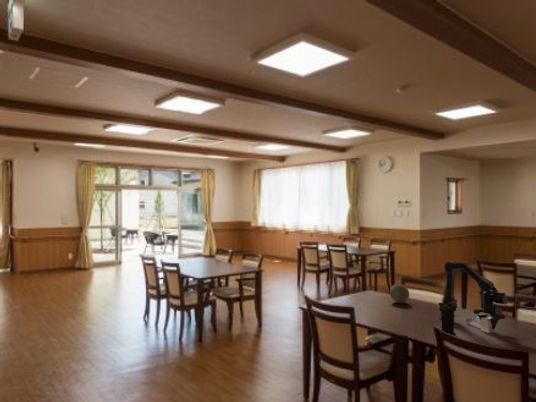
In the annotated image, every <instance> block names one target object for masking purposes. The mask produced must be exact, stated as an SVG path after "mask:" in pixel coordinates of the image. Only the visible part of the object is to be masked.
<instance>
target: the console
mask: <svg viewBox="0 0 536 402" xmlns="http://www.w3.org/2000/svg"><path fill="white" fill-rule="evenodd" d="M475 321H476V322H475V323H477V324H480V325H481V320H480V318H479V317H478V316H476V317H475Z"/></svg>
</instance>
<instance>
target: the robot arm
mask: <svg viewBox="0 0 536 402" xmlns="http://www.w3.org/2000/svg"><path fill="white" fill-rule="evenodd" d="M458 269H461V270H462V271H463V272H465V273H466V274H467V275H468V276H469V277H470V278H472V279H473V280H474V281H475V282H476V283H477V286H478V287H479V288H480V290H481V291H479V292H478V294H479V295H482V303H481V306H482V307H483V308H480V307H479V308H478V307H477V308H474V309H473V314H475V315H476V317H479V318H480V320H481V318H483V317H488V316H489V317H491V318H490V320H491V324H492V328H493V329H495V327H496V328H497V325H498V321H500V320H506V315H505V314H504V313H502V311H503V309H502V308H500V307H499V306H497V305H496V304H499V305H507V304H508V301H509V299H508V296H507V294H506V292H500V291H498V289H497V288H496V286H495V284H494V282H493V281H491V280H490V279H487V278H486V277H483V276H482V275H481V274H479V272H477V271H476V270H475V269H474V268H473V267H472V266H470V264H469V263H467V262H466V261H464V262H456V261H453V260H452V261H447V262H446V263H444V271H445V272H444V273H446V285H445V296H444V299H443V300H442V301H443V302H442V303H443V305H448V303H452V305H451V306H453V305H457V306H458V303H457V302H458V299H456V298H455V282H456V281H455V280H456V279H455V278H456V274H457V272H458ZM438 309H439V312H440V318H439V320H440V321H442V314H441V313H442V309H440V307H439V308H438Z"/></svg>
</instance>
